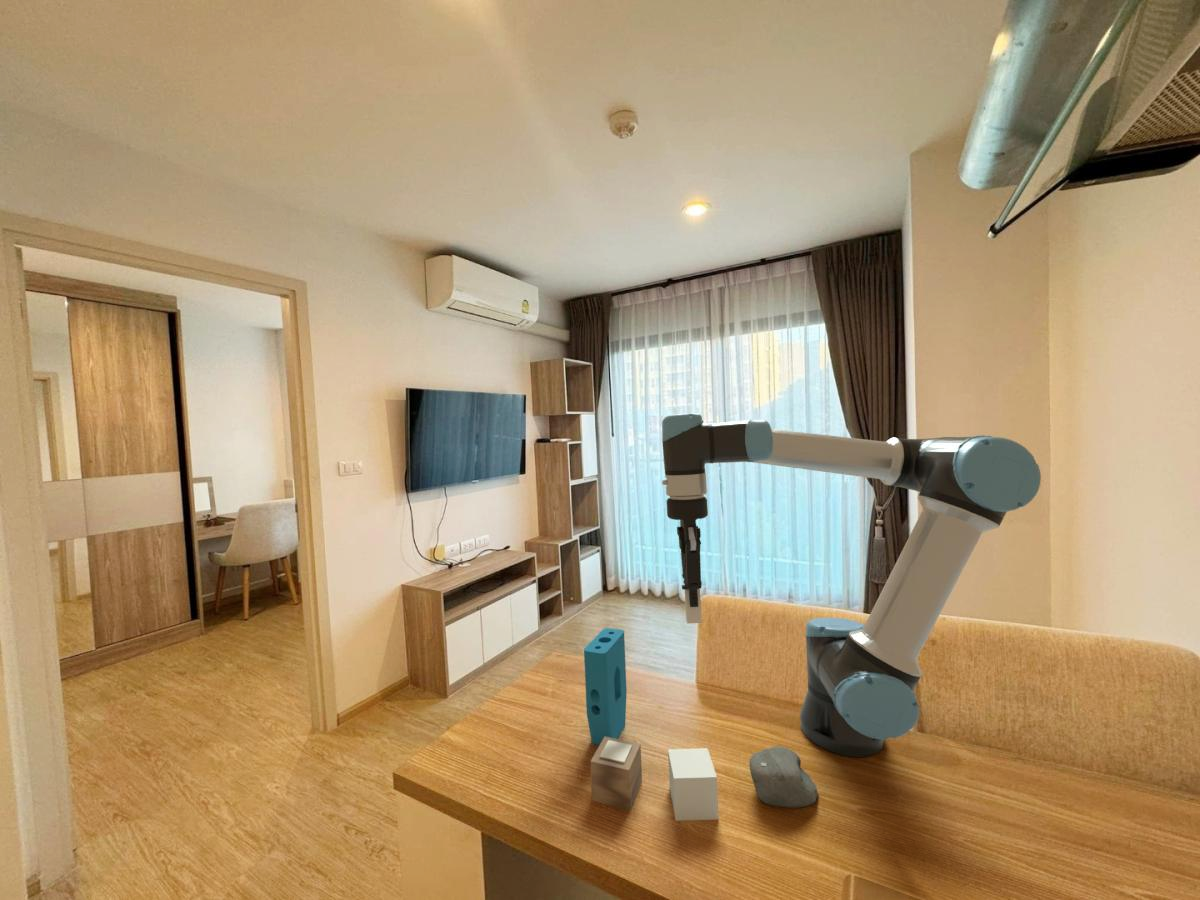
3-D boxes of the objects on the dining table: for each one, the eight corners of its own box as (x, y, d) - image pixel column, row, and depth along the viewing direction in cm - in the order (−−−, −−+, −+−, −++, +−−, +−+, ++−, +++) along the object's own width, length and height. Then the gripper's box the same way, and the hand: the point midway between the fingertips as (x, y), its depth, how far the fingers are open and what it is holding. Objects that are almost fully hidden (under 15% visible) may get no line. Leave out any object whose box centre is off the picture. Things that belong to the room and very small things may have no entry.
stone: (829, 818, 72) (796, 760, 73) (778, 837, 74) (746, 781, 75) (813, 777, 81) (784, 726, 82) (768, 795, 83) (740, 745, 84)
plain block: (709, 787, 80) (707, 748, 80) (718, 819, 73) (716, 777, 73) (669, 788, 80) (668, 749, 80) (675, 821, 73) (673, 778, 73)
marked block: (642, 781, 82) (640, 742, 82) (630, 811, 76) (629, 768, 76) (606, 773, 85) (604, 734, 85) (592, 801, 78) (590, 759, 78)
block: (609, 753, 90) (605, 654, 90) (586, 748, 92) (582, 650, 92) (629, 719, 101) (625, 630, 101) (608, 714, 103) (604, 627, 103)
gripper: (663, 493, 91) (671, 609, 91) (669, 502, 78) (677, 637, 78) (701, 491, 91) (708, 608, 91) (712, 499, 78) (721, 635, 78)
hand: (694, 621), depth 85 cm, fingers closed
